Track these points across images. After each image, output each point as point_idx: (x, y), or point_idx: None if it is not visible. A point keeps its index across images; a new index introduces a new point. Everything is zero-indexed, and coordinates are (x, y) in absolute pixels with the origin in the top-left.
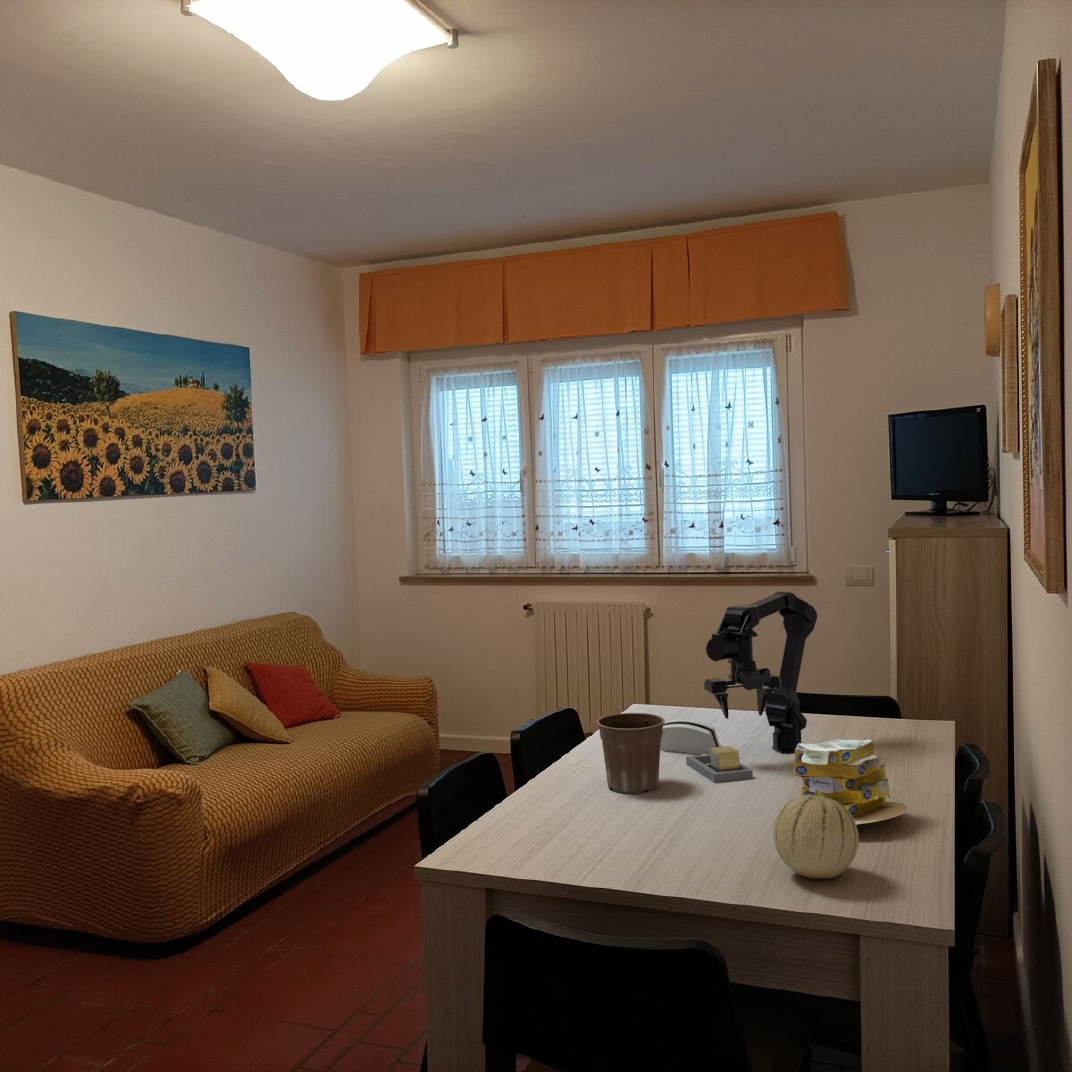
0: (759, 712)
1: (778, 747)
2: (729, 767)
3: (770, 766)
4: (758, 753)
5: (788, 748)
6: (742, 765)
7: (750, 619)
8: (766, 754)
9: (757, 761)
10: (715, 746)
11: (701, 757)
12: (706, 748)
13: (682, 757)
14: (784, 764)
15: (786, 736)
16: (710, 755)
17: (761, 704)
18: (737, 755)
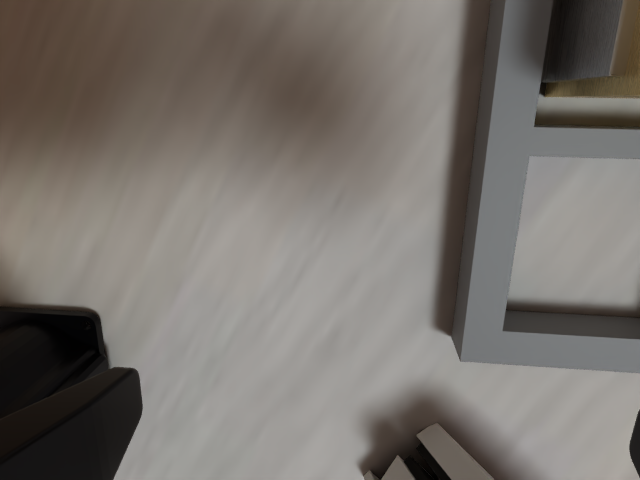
0: (123, 414)
1: (95, 359)
2: None
3: (261, 113)
4: (212, 375)
5: (48, 332)
6: (518, 10)
7: None
8: (181, 343)
9: (283, 242)
10: (446, 464)
11: (626, 336)
12: (490, 477)
13: (612, 472)
14: (167, 120)
15: (5, 375)
16: (564, 337)
17: (7, 471)
18: None
